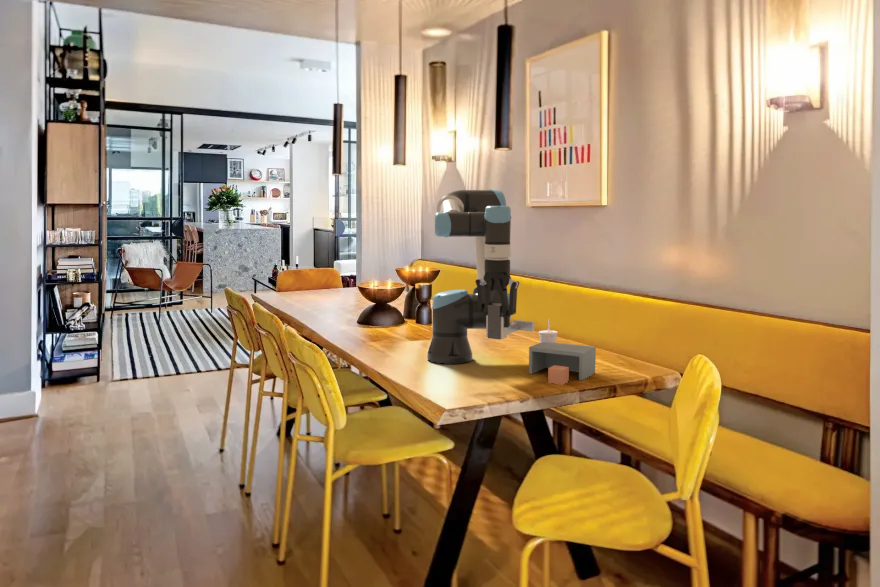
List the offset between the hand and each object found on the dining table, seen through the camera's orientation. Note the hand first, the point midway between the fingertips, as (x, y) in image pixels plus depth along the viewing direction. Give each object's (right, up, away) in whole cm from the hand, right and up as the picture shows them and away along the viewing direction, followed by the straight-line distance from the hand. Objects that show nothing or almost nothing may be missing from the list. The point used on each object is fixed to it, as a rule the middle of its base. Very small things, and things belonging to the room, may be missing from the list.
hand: (496, 336), depth 194 cm
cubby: (+20, -11, +5) cm, 24 cm away
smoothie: (+19, -10, +24) cm, 32 cm away
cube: (+17, -13, -6) cm, 22 cm away
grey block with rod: (+5, +1, +5) cm, 7 cm away
